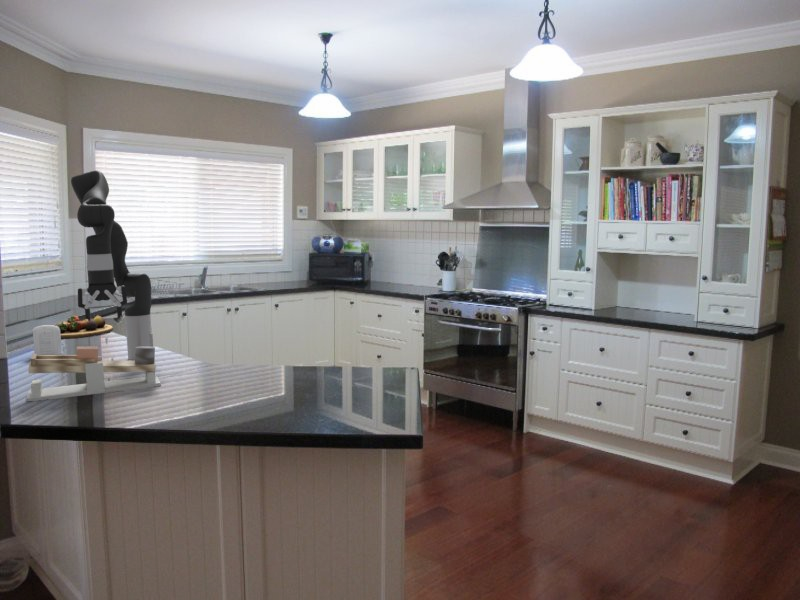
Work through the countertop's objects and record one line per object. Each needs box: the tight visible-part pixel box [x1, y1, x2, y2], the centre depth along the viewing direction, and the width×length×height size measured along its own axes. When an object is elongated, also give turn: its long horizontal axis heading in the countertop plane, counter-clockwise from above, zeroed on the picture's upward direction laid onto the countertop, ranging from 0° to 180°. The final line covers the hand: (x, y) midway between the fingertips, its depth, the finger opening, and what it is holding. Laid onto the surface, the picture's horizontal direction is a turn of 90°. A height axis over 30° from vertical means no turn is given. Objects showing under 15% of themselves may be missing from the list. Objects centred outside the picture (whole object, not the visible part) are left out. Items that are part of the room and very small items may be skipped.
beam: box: [28, 346, 157, 374], centre depth 213 cm, size 36×9×7 cm, turn 116°
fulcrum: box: [26, 355, 161, 402], centre depth 213 cm, size 38×12×10 cm, turn 115°
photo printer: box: [32, 324, 63, 355], centre depth 272 cm, size 10×4×12 cm, turn 98°
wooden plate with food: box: [54, 315, 114, 339], centre depth 327 cm, size 32×32×8 cm
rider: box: [76, 345, 99, 363], centre depth 212 cm, size 6×5×5 cm
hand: (104, 319), depth 213 cm, fingers open, 8 cm apart
